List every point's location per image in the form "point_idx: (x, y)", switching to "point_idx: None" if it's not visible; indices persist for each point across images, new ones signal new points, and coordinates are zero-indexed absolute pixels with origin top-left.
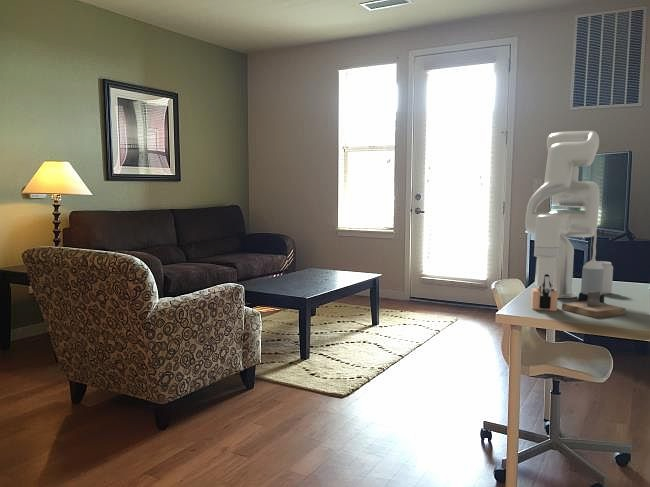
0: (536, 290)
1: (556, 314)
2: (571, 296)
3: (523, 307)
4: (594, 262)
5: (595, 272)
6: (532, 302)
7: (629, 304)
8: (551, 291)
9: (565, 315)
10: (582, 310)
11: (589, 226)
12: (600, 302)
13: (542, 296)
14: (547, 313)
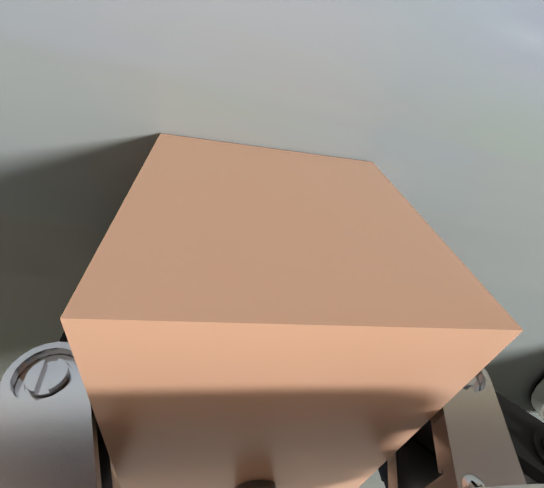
0: (219, 376)
1: (14, 301)
2: (536, 408)
3: (264, 33)
4: None
5: None
6: (155, 170)
7: (374, 485)
8: (193, 484)
9: (18, 343)
10: None
11: None
12: None
13: (51, 357)
14: (9, 246)
